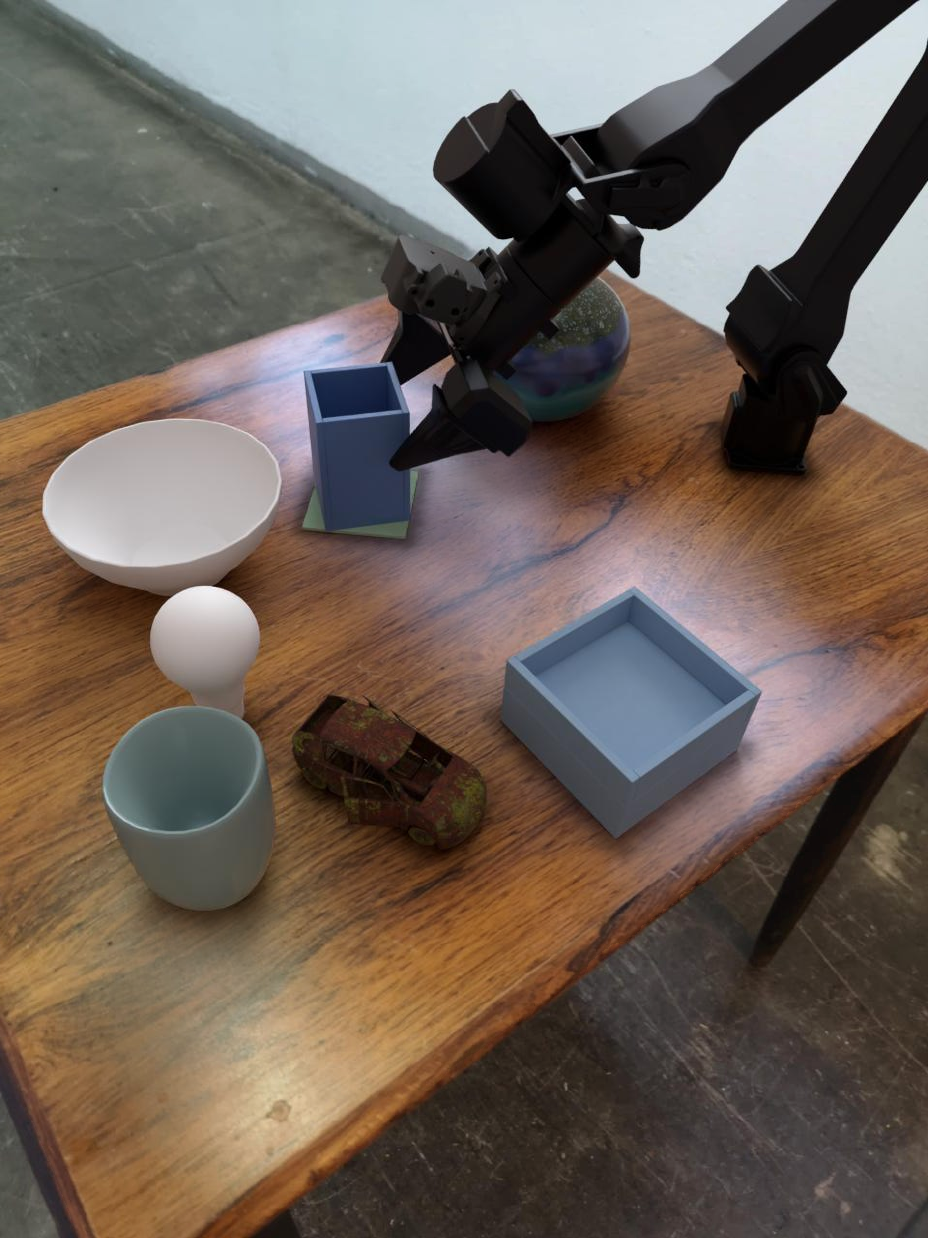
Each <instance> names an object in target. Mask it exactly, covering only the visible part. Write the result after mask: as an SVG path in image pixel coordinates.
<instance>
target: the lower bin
mask: <svg viewBox="0 0 928 1238" xmlns="http://www.w3.org/2000/svg"><path fill="white" fill-rule="evenodd" d="M762 693H763V690H761V688H759V687H758V686H757V685H755V684H754V683H753V682H752V681H750V680H749V679H748V678H747V677H745V675H743V673H741V672H740V671H738V669H736V668H735V667H734V666H732V665H731V664H730V663H729V662H727V660H725V659H724V658H723V657H721V656H720V655H719V654H718V653H717V652H715V651H714V650H713V649H712V648H710V646H708V645H707V644H705V643H704V641H702V640H701V639H699V638H698V637H697V636H696V635H694V634H693V633H692V632H691V630H690V631H689V630H688V628H687V627H685V625H682V624H681V623H680V622H679V621H678V620H676V619H675V618H674V617H673V616H672V615H670V614H669V613H668V612H667V611H666V610H665V609H663V608H662V607H661V606H659V605H658V604H657V603H655V601H653V600H652V599H651V598H650V597H649V596H647V594H645V593H643V591H641V590H640V589H639V588H638V587H636V586H635V585H634V586H631V587H630V588H629V589H627V590H625V591H622V593H620V594H618V595H616V596H615V597H613V598H611V599H609V600H608V601H606V602H604V603H603V604H601V605H599V606H597V607H596V608H594V609H592V610H591V611H589V612H587V613H585V614H584V615H582V616H580V617H578V618H577V619H575V620H572V621H571V622H570V623H567V624H566V625H564V626H563V627H561V628H560V629H557V630H555V631H554V632H552V633H550V634H549V635H547V636H545V637H543V638H542V639H540V640H539V641H537V642H535V643H533V644H531V645H530V646H528V647H526V648H525V649H523V650H521V651H520V652H518V653H516V654H514V655H512V656H510V657H509V658H508V659H506V663H505V672H504V683H503V692H502V699H501V709H500V721H501V722H502V723H503V724H504V725H505V726H506V727H507V728H508V729H509V730H510V731H511V732H512V734H514V736H515V737H517V739H519V741H520V742H521V744H523V745H524V746H525V747H526V748H527V749H528V750H529V751H530V752H531V753H532V754H533V755H534V756H535V757H536V758H537V759H538V760H539V762H540V763H542V764H543V765H544V767H546V769H547V770H548V771H550V773H551V774H552V775H553V776H554V777H555V778H556V779H557V780H558V781H559V782H560V783H561V784H562V785H563V786H564V787H565V788H566V789H567V790H568V791H569V792H570V793H571V794H572V796H574V798H575V799H576V800H577V801H578V802H579V803H580V804H581V805H582V806H583V807H584V809H586V810H587V811H588V812H589V813H590V814H591V815H592V816H593V817H594V819H596V820H597V821H598V823H600V824H601V825H602V827H604V828H605V829H606V831H607V832H608V833H609V834H610V835H611V836H612V837H613V838H614V839H618V838H619V837H620V836H621V835H623V834H624V833H625V832H627V831H628V830H630V829H631V828H632V827H634V826H635V825H637V824H638V823H640V822H641V821H642V820H644V819H645V818H646V817H648V816H649V815H650V814H652V813H653V812H654V811H656V810H657V809H659V808H660V807H661V806H663V805H664V804H666V803H667V802H668V801H669V800H671V799H672V798H674V797H675V796H677V795H678V794H679V793H680V792H682V791H683V790H685V789H686V788H687V787H689V786H690V785H692V784H693V783H694V782H695V781H697V780H698V779H700V778H701V777H702V776H704V775H705V774H706V773H707V772H709V771H711V769H713V768H714V767H716V766H717V765H719V764H720V763H721V762H723V761H725V760H726V759H727V758H728V757H729V756H731V755H733V754H734V753H735V752H736V751H738V749H739V747H740V745H741V742H742V740H743V738H744V735H745V733H746V730H747V729H748V726H749V723H750V722H751V719H752V716H753V714H754V712H755V710H756V707H757V706H758V705H757V704H758V703H759V700H760V698H761V696H762Z"/></svg>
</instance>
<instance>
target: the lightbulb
mask: <svg viewBox="0 0 928 1238" xmlns="http://www.w3.org/2000/svg"><path fill="white" fill-rule="evenodd" d="M152 621H153V622H152V625H151V629H150V634H149V635H150V637H149V638H150V639H149V645H150V650H151V654H152V658H153V660H154V662H155V664H156V667H157V668H158V669H159V670H160V672H161V673H162V674H163V675H164V677H166V678H167V679H168V680H170V681H171V682H172V683H174V684H175V685H177V686H178V687H180V688H181V689H183V690H186V691H187V692H188V693H189V694H190V696H191V698H192V701H193V702H194V704H195V706H203V707H211V708H215V709H219V710H223V711H226V712H228V713H231V714H233V715H235V716H237V717H239V718H241V719H242V720H243V718H244V716H245V704H244V698H245V692H246V689H245V687H246V686H245V678H246V676H247V675H248V674H249V672H250V671H251V669H252V667H253V665H254V663H255V661H256V659H257V657H258V654H259V650H260V644H261V632H260V627H259V623H258V620H257V617H256V616H255V614H254V613H253V611H252V609H251V608H250V607H249V605H248V604H247V603H246V602H245V601H244V600H243V599H242V598H241V597H240V596H238V595H236V594H235V593H233V592H232V591H230V590H227V589H224V588H221V587H216V586H197V587H192V588H188V589H186V590H183V591H181V592H179V593H177V594H176V595H174V596H171V597H170V598H168V599H167V600H166V601H165V603H163V605H162V606H161V607H160V609H159V610H158V611H157V613H156V615H155V616H154V619H153V620H152Z"/></svg>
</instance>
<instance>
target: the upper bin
mask: <svg viewBox="0 0 928 1238" xmlns="http://www.w3.org/2000/svg"><path fill="white" fill-rule="evenodd" d="M303 379H304V389H305V401H306V410H307V420H308V421H307V422H308V430H309V431H308V432H309V440H310V441H309V442H310V449H311V450H310V451H311V460H312V461H311V462H312V469H313V470H312V471H313V479H314V484H316V489H317V494H318V498H319V503H320V507H321V512H322V517H323V521H324V526H325V530H326V531H333V530H340V529H348V528H355V527H363V526H370V525H378V524H385V523H393V522H401V521H408V520H409V521H411V514H410V471H411V469H408V470H404V471H401V472H399V471H396V470H395V469H393V468H392V467H391V466H390V464H389V460H390V459H391V458H392V456H393V455H394V454H395V452H396V451H397V449H398V448H399V447H400V446H401V444H402V443H403V442H404V441H405V440H406V439H407V438H408V436H409V435H410V434H411V412H410V409H409V406H408V404H407V400H406V398H405V395H404V392H403V390H402V389H403V388H402V385H401V386H400V383H399V380H398V377H397V374H396V372H395V369H394V366H393V363H392V362H386V363H380V362H378V363H367V364H357V365H345V366H338V367H328V368H327V367H326V368H318V369H308V370H303Z"/></svg>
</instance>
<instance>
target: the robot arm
mask: <svg viewBox="0 0 928 1238" xmlns="http://www.w3.org/2000/svg"><path fill="white" fill-rule="evenodd" d="M918 2H920V0H786V1H785V2H784V3H782V4H781V5H780V6H779V7H778V8H777V9H775V10H774V11H773V12H771V14H769V15H768V16H767V17H766V18H765V19H763V20H762V21H761V22H759V23H758V24H757V25H756V26H755V27H754V28H753V29H751V30H750V31H749V32H747V34H745V35H744V36H742V38H741V39H740V40H738V41H736V43H734V44H733V45H732V46H731V47H729V48H728V49H727V50H726V51H725V52H724V53H722V54H721V55H720V56H719V57H718V58H716V60H714V61H713V62H712V63H710V64H708V65H707V66H706V67H704V68H702V69H701V70H699V71H698V72H695V74H692V75H690V76H686V77H683V78H680V79H677V80H674V81H671V82H667V83H664V84H662V85H658V86H656V87H654V88H652V89H651V90H649V91H648V92H646V93H644V94H643V95H641V96H640V97H638V98H636V99H635V100H632V102H629V103H628V104H627V105H625V106H623V107H622V108H620V109H618V110H617V111H615V112H614V113H613V114H611V115H610V116H609V117H608V118H607V119H606V120H605V121H604V122H602V123H597V124H593V125H588V126H587V125H586V126H584V127H583V126H582V127H579V128H578V127H577V128H574V129H570V130H564V131H560V132H555V133H551V134H549V133H548V131H546V129H545V127H543V126H542V125H541V124H540V122H539V120H538V118H537V115H536V114H535V113H534V112H533V110H532V109H531V107H530V106H529V105H528V103H527V102H526V101H525V100H524V99H523V97H522V96H521V95H520V94H519V92H518V91H516V89H514V88H511V89H510V88H509V90H507V91H506V93H505V94H504V95H503V96H502V97H501V98H500V100H499V101H495V102H489V103H486V104H484V105H481V106H480V107H478V108H477V109H475V110H473V112H471V113H470V114H469V115H468V116H465V115H464V116H462V117H461V118H460V119H458V121H457V122H456V123H455V124H454V125H453V127H452V128H451V129H450V131H449V132H447V134H446V136H445V138H444V139H443V141H442V142H441V144H440V147H439V148H438V150H437V152H436V154H435V157H434V161H433V165H432V175H433V178H434V179H435V181H436V182H437V183H438V184H439V185H440V186H442V188H443V189H444V190H445V191H447V192H448V194H449V195H450V196H452V197H453V199H455V200H456V201H457V202H458V203H459V204H460V205H461V206H462V207H463V208H464V209H465V210H466V211H467V212H468V214H470V215H471V216H472V217H473V218H474V219H475V220H476V221H477V222H478V223H479V224H480V225H482V227H483V228H484V229H485V230H486V231H488V232H489V234H490V235H491V236H493V237H494V238H495V239H497V240H501V241H505V240H511V241H510V242H509V243H508V244H507V245H505V247H504V248H503V249H502V250H501V251H500V252H499V253H498V254H497V252H496V251H494V249H492V247H490V246H488V247H487V248H486V249H485V248H481V249H479V250H478V252H476V253H475V255H474V256H473V257H471V258H470V259H466V258H463V257H460V256H458V255H457V254H455V253H453V252H451V251H450V250H447V249H444V248H442V247H439V246H436V245H433V244H431V243H428V242H426V241H423V240H421V239H418V238H415V237H412V236H410V235H406V234H400V235H398V236H397V239H396V241H395V243H394V246H393V248H392V251H391V253H390V255H389V258H388V260H387V263H386V264H385V267H384V268H383V272H382V273H381V276H380V281H381V283H382V284H384V285H385V289H386V291H387V300H388V302H389V303H390V305H391V306H392V307H394V308H395V309H396V310H397V318H398V321H397V325H396V328H395V330H394V332H393V335H392V337H391V339H390V341H389V343H388V344H387V345H388V346H387V348H386V350H385V351H384V353H383V355H382V357H381V359H380V361H379V363H386V362H392V363H393V366H394V369H395V372H396V374H397V377H398V380H399V383H400V386H401V387H402V386H403V385H404V384H406V383H408V382H410V381H411V380H413V379H414V378H416V377H417V376H419V375H421V374H422V373H424V372H425V371H427V370H428V369H430V368H432V367H433V366H435V365H437V364H438V363H440V362H441V361H443V360H445V359H446V358H448V357H450V356H451V357H452V360H453V362H454V365H452V366H451V368H450V369H449V370H448V371H446V373H445V375H444V377H443V378H444V379H443V381H442V384H441V385H440V386H439V385H437V384H436V383H433V384H432V387H431V389H432V390H431V408H430V410H429V412H428V413H427V414H426V415H425V416H424V418H422V420H421V421H420V422H419V424H418V425H417V426H416V427H415V428H414V429H413V430H412V431H411V432H410V435H409V436H408V438H407V439H406V440H405V441H404V442H403V443H402V444H401V446H400V447H399V448H398V449H397V451H396V452H395V454H394V455H393V456H392V458H391V459H390V460H389V464H390V466H391V467H392V468H393V469H395V470H396V471H399V472H401V471H404V470H408V469H410V470H411V469H415V468H417V467H421V466H424V465H427V464H431V463H434V462H437V461H441V460H445V459H448V458H452V457H455V456H460V455H465V454H469V453H475V452H480V451H486V450H487V451H488V452H490V453H492V454H493V455H496V454H497V453H499V452H501V454H503V455H504V456H506V457H507V458H510V457H512V456H513V455H514V454H515V453H516V452H517V451H519V450H520V449H521V448H522V447H523V446H525V444H527V442H528V441H530V440H531V439H532V430H533V422H532V421H531V419H530V417H529V415H528V412H527V410H526V408H525V406H524V404H523V402H522V400H521V398H520V396H519V394H518V393H517V392H515V391H514V390H513V389H512V388H511V387H509V386H508V385H507V384H506V383H505V382H503V381H502V380H501V379H500V378H499V377H497V376H496V375H495V374H494V373H493V371H494V370H495V371H496V372H497V373H498V374H499V375H501V376H502V377H503V378H504V379H505V380H508V379H509V378H510V377H511V376H512V375H513V374H514V373H515V372H516V371H517V370H516V368H515V366H514V364H513V362H512V360H511V359H512V358H513V357H514V356H515V355H516V354H517V353H518V352H519V351H520V350H521V349H522V348H523V347H524V346H525V345H527V344H528V343H529V342H530V341H531V340H532V339H533V338H534V337H535V336H536V335H537V334H538V333H539V332H541V333H542V334H543V335H545V336H546V337H547V338H548V339H549V340H550V339H551V338H552V337H553V336H554V335H555V334H556V333H557V332H558V331H559V330H560V329H559V327H558V325H557V324H556V322H555V320H554V318H555V317H556V316H557V315H558V314H559V313H560V312H561V311H562V310H563V309H564V308H565V307H566V306H567V305H568V304H569V303H570V302H572V301H573V300H574V299H575V298H576V297H577V296H578V295H579V294H580V293H581V292H582V291H583V290H584V289H585V288H586V287H587V286H588V285H589V284H590V283H591V282H592V281H593V280H595V279H596V278H597V277H600V275H601V274H603V272H604V271H606V269H607V268H608V267H610V265H612V264H613V263H614V262H615V263H616V264H617V265H618V266H619V267H620V268H621V270H623V271H624V273H625V274H626V275H627V276H628V277H629V279H637V278H639V277H640V276H641V264H642V263H641V260H642V259H641V258H642V257H641V255H642V253H641V252H642V248H643V244H644V242H645V237H644V235H643V234H642V232H641V231H640V230H639V229H641V230H656V231H658V232H660V231H664V230H668V229H669V228H671V227H673V226H675V225H676V224H678V223H680V222H682V221H683V220H684V219H685V218H686V217H687V216H688V215H689V214H691V212H692V211H693V210H695V208H696V207H697V206H699V204H700V203H701V202H702V201H703V200H704V199H705V198H706V197H707V196H708V195H709V194H710V193H711V192H712V191H713V190H714V189H715V188H716V187H717V186H718V185H719V184H720V183H721V182H722V180H723V179H724V177H725V176H726V174H727V172H728V170H729V168H730V167H731V164H732V162H733V161H734V160H735V159H734V158H735V157H736V155H737V153H738V151H739V150H740V147H741V146H742V145H743V144H744V143H745V142H746V141H747V140H748V139H749V138H750V137H751V136H752V135H753V134H754V133H755V132H756V131H757V130H758V129H759V128H761V126H763V125H764V124H766V123H767V122H768V121H769V120H770V119H771V118H773V117H774V116H776V115H777V114H778V113H779V112H781V111H782V110H783V109H784V108H786V107H787V106H788V105H789V104H791V103H792V102H793V101H794V100H795V99H797V98H798V97H800V96H801V95H802V94H803V93H805V91H807V90H808V89H809V88H811V87H812V86H813V85H815V84H816V83H817V82H818V81H820V80H821V79H822V78H823V77H825V76H826V75H827V74H828V73H829V72H831V71H832V70H833V69H834V68H836V67H837V66H839V64H841V63H842V62H844V60H846V59H847V58H848V57H850V56H851V55H852V54H854V53H855V52H857V50H859V49H860V48H861V47H863V46H864V45H865V44H866V43H867V42H868V41H870V40H871V39H872V38H874V37H875V36H876V35H877V34H879V33H880V32H882V30H884V29H885V28H886V27H887V26H889V25H890V24H891V23H892V22H894V21H895V20H896V19H898V18H899V17H900V16H901V15H902V14H904V13H905V12H906V11H908V10H909V9H910V8H911V7H913V6H914V5H915V4H916V3H918ZM927 183H928V38H927V40H926V45H925V49H924V52H923V53H922V56H921V58H920V60H919V61H918V63H917V65H916V66H915V68H914V69H913V70H912V72H911V73H910V75H909V77H907V80H906V81H905V82H904V85H903V86H902V88H901V89H900V90H899V92H898V94H897V95H896V96H895V98H894V100H893V101H892V103H891V105H890V106H889V108H888V109H887V111H886V112H885V114H884V115H883V117H882V119H881V121H880V122H879V123H878V125H877V126H876V128H875V129H874V131H873V132H872V134H871V136H870V137H869V138H868V141H866V143H865V145H864V147H863V148H862V150H861V151H860V152H859V154H858V156H857V157H856V159H855V161H854V162H853V164H852V165H851V167H850V168H849V169H848V171H847V173H846V175H845V176H844V177H843V179H842V181H841V182H840V184H839V185H838V186H837V188H836V189H835V192H834V193H833V194H832V196H831V198H830V199H829V201H828V203H826V205H825V207H824V209H823V210H822V212H821V213H820V215H819V216H818V218H817V220H816V221H815V223H814V224H813V226H812V227H811V228H810V230H809V232H808V234H807V235H806V236H805V238H804V239H803V240H802V242H801V244H800V246H799V247H798V248H797V250H796V252H795V253H794V254H793V255H792V256H790V257H788V258H787V259H786V260H784V261H782V262H780V263H779V264H777V265H775V266H774V267H773V268H771V269H767V268H765V267H764V266H763V265H761V264H755V265H754V266H753V267H752V268H751V269H750V271H749V272H748V274H747V276H746V278H745V281H744V283H743V285H742V287H741V289H740V290H739V292H738V293H737V294H736V296H735V297H734V299H732V300H731V301H730V302H729V303H728V304H726V306H725V310H726V311H727V312H728V315H727V318H726V319H725V322H724V325H723V333H724V339H725V344H726V346H727V347H728V349H729V350H730V352H731V353H732V354H733V355H734V361H735V363H736V365H737V366H738V367H740V368H741V369H742V371H743V372H744V373H743V374H742V375H741V380H740V381H739V382H740V383H739V386H738V389H737V390H733V391H732V392H730V394H729V397H728V401H727V404H726V407H725V410H724V414H723V419H722V422H721V426H720V429H719V432H720V439H721V446H722V448H723V449H724V450H725V453H726V458H727V459H726V460H727V465H728V466H729V468H731V469H737V470H748V471H759V472H770V473H771V472H772V473H782V474H794V475H804V474H806V472H807V471H808V465H807V461H806V458H805V455H806V453H807V449H808V446H809V443H810V441H811V438H812V435H813V433H814V430H815V428H816V425H817V421H818V419H819V418H820V416H823V417H824V416H829V415H833V414H834V413H835V411H836V410H837V409H838V408H839V406H840V405H841V404H842V402H843V401H844V399H845V398H846V397H847V396H848V390H847V388H846V387H844V385H843V384H842V383H841V381H840V380H839V379H838V377H837V376H836V374H835V373H834V372H833V371H832V370H831V368H830V367H829V366H828V364H829V363H830V361H831V359H832V357H833V355H834V353H835V352H836V350H837V348H838V347H839V344H840V343H841V341H842V339H843V337H844V335H845V329H846V325H847V318H848V313H849V312H848V311H849V306H850V300H851V296H852V293H853V290H854V288H855V286H856V284H857V283H858V281H859V280H860V279H861V277H862V276H863V275H864V273H865V271H866V270H867V269H868V267H869V266H870V264H871V263H872V262H873V260H874V259H875V257H876V256H877V255H878V253H879V252H880V250H881V249H882V248H883V246H884V245H885V243H886V242H887V240H888V239H889V237H890V236H891V235H892V234H893V232H894V230H895V229H896V228H897V226H898V225H899V224H900V222H901V220H902V219H903V217H904V216H905V214H906V213H907V212H908V210H910V208H911V206H912V205H913V203H914V202H915V200H916V199H917V198H918V196H919V195H920V193H921V192H922V190H924V188H925V186H926V185H927ZM574 188H575V189H577V191H578V192H579V194H580V195H581V197H583V198H580V199H575V198H574V197H573V196H572V195H571V194H570V193H569V192H570V191H571V190H572V189H574ZM612 216H616V217H624V219H625V220H627V222H628V223H618V222H617V221H616V220H615V219H614V218H613V217H612ZM468 356H470V357H469V358H467V357H468Z"/></svg>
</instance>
